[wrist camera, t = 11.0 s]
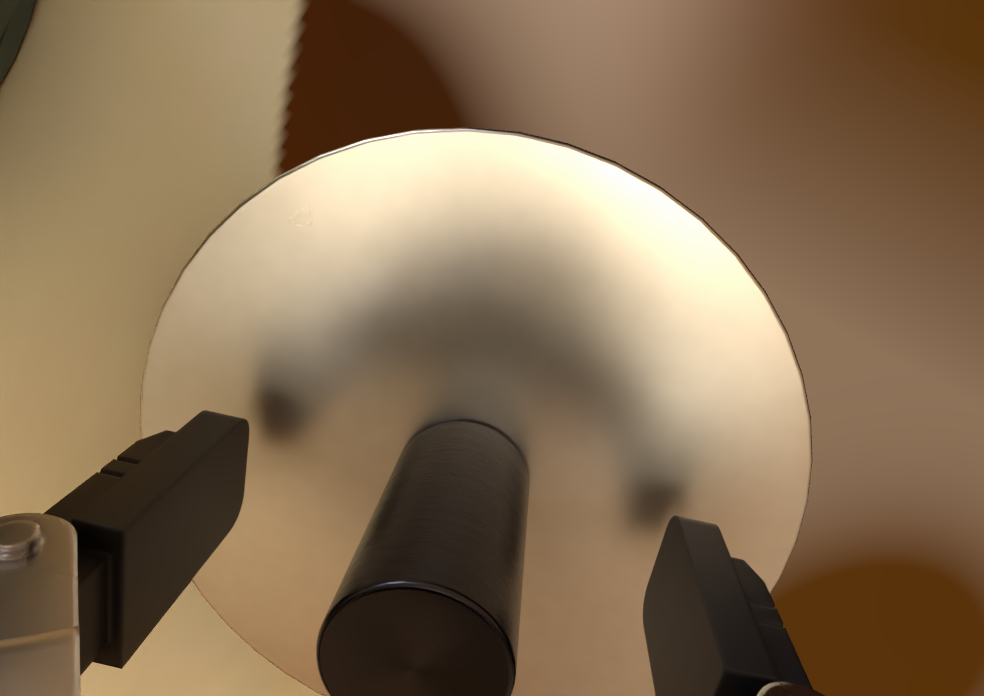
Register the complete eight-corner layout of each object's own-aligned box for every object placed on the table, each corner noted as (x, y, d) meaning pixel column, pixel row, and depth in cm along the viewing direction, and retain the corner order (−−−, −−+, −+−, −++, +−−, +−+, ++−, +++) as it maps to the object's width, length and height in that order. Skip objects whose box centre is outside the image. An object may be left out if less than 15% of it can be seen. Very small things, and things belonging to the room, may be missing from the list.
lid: (139, 603, 16) (-81, 858, 11) (218, 34, 12) (-77, -40, 6) (654, 758, 17) (706, 1091, 11) (912, 248, 12) (1220, 360, 7)
